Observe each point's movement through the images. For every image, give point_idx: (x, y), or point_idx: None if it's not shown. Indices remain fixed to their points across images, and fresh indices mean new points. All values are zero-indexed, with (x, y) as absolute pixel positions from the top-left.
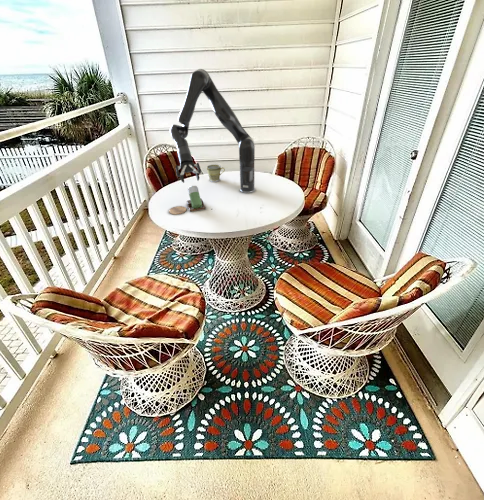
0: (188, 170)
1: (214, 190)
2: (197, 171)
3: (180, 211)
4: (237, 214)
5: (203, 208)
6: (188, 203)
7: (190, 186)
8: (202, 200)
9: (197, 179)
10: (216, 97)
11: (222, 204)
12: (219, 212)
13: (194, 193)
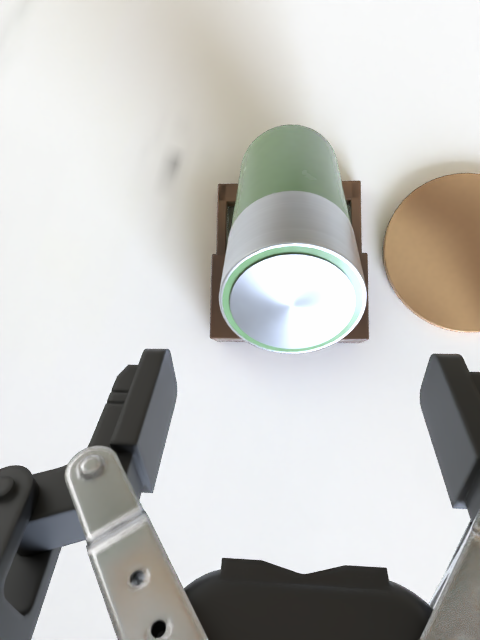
0: (309, 576)
1: None
2: (78, 484)
3: (446, 208)
4: (20, 14)
5: (236, 186)
6: (361, 258)
7: (331, 250)
8: (212, 276)
9: (170, 368)
10: None
11: (60, 225)
12: (131, 90)
13: (295, 180)
